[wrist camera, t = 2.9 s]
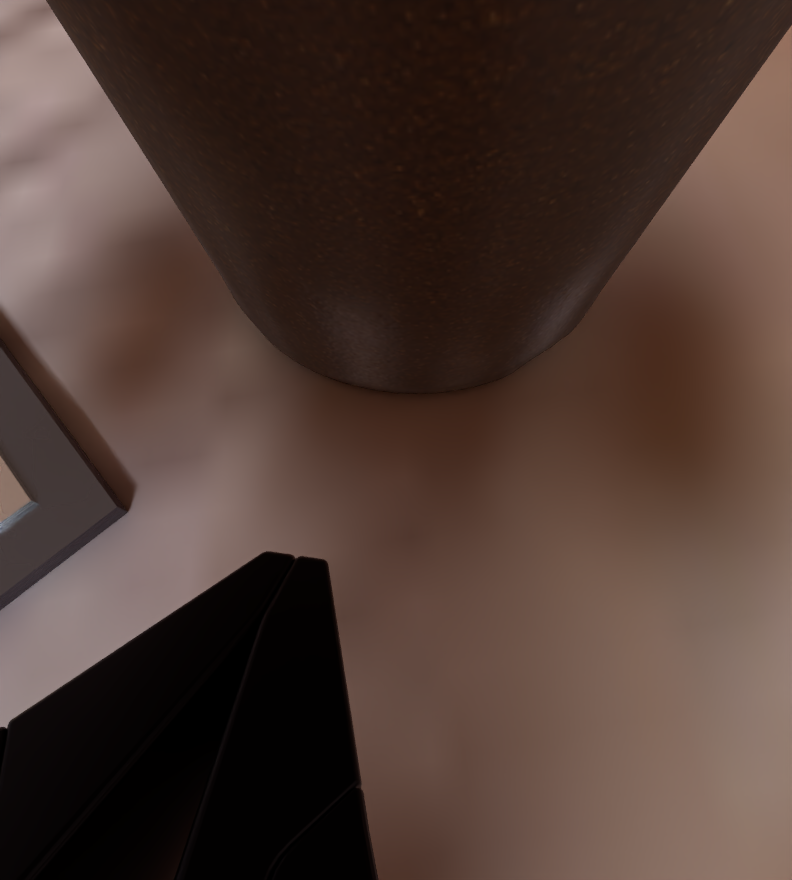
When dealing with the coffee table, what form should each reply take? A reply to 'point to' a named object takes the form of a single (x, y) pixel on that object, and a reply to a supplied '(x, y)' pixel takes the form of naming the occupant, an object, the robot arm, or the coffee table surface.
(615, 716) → the coffee table surface
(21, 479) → the panel
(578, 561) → the coffee table surface
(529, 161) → the plant pot
